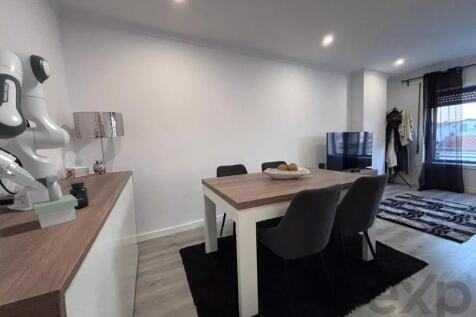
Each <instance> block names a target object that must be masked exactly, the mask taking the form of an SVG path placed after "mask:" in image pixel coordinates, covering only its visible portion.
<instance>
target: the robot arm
mask: <svg viewBox="0 0 476 317" xmlns="http://www.w3.org/2000/svg"><path fill="white" fill-rule="evenodd" d="M50 75H51V68H50V66H49V64H48V62H47V60H46V59H45V58H44V57H43V56H40V55H35V54H28V53H23V52H14V51H13V52H12V51H11V50H8V49H7V48H3V47H0V148H1V149H0V179H4V178H5V179H6V180H8V181H10V182H12V183H15V184H17V185H19V186H21V187H22V188H20V190H19V191H18V192H16V193H15V194H14V196H13V204H11V205H9V206H7V209H8V208H9V210H15V211H21V212H22V211H23V212H24V211H31V210H33V205H32V202H34V201H39V200H44V199H49V194H48V188H47V180H46V175H50V174H54V175H56V176H57V184H58V191H59V197H60V196H63V193H62V189H61V186H60V184H59V183H58V182H59V177H58V175H57V173H56V172H57V171H56V166H55V165H56V164H55V162H54V160H53V159H52V158H49V157H47V156H44V155H40V154H38V153H37V152H36V151H39V150H54V149H61V148H64V147H67V146H68V145H69V142H70V139H71V137H70V134H69V133H68V131H66V129H64V128H62V127H61V126H59V125H57V124H56V123H55V122H54V121H53V119H52V118H51V117H50V115H49V111H48V107H47V101H46V96H45V92H44V87H43V84H44V83H45V81H47V80H48V79H49V77H50ZM27 121H30V122H32V123H34V124H35V126H33V127H30V126H29V127H28V124H27V123H28V122H27ZM3 150H4V151H3ZM6 151H7V152H9V153H11V154H12V155H11V154H9V153H7V152H6ZM13 155H14V156H13ZM16 157H17V158H16ZM17 159H18V160H19V161H20V163H21V165H22V166H20V165H19V163H17V162H16V160H17Z"/></svg>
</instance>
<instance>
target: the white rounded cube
mask: <svg viewBox="0 0 476 317" xmlns="http://www.w3.org/2000/svg"><path fill="white" fill-rule="evenodd" d="M37 218H38V223H39V226H40V227H41V229H43V228H48V227H52V226H56V225H59V224H62V223H66V222H67V223H68V222H70V221H74V220H77V217H76V209H75V208H74V207H70V208H65V209H61V210H57V211H52V212H48V213H43V214H39V215H37Z"/></svg>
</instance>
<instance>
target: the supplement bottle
mask: <svg viewBox="0 0 476 317" xmlns="http://www.w3.org/2000/svg"><path fill="white" fill-rule="evenodd" d="M70 187H71V188H70V189H69V190H68V195H72V196H74V197H75V198H76V199H77V202H78V206H74V208H75V210H80V209H84V208H87V207H88V206H89V205H90V203H89V192H88V188H87V187H86V186H85V182H84V181H75V182H71V183H70Z"/></svg>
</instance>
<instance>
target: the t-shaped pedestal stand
mask: <svg viewBox="0 0 476 317" xmlns="http://www.w3.org/2000/svg"><path fill="white" fill-rule="evenodd" d="M56 175H57V174H56ZM56 175H54V174H50V175H46V180H47V188H48V194H49V199H44V200H39V201H34V202H32V205H33V209H32V210H33V211H34V214H35V216H38V215H39V214H43V213H48V212H52V211H57V210H61V209H65V208H70V207H74V206H78V202H77V199H76V198H75V197H74V196H72V195H69V194H65V195H62V196H60V197H59V191H58V185H59V183H58V182H57V178H58V175H57V176H56ZM57 183H58V184H57Z"/></svg>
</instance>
